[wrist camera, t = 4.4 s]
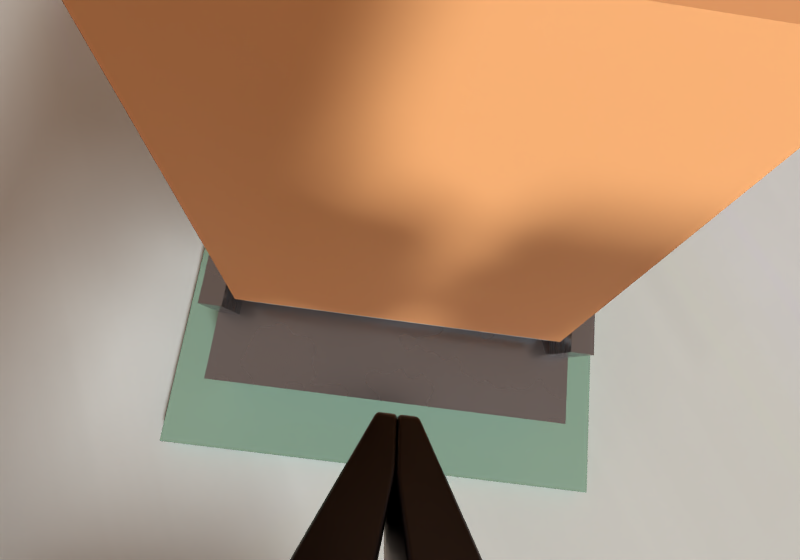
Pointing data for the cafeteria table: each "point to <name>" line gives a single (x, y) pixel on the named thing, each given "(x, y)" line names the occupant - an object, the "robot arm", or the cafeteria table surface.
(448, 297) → the orange upright panel
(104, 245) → the cafeteria table surface
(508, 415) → the grey stand
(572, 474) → the green flat slab
